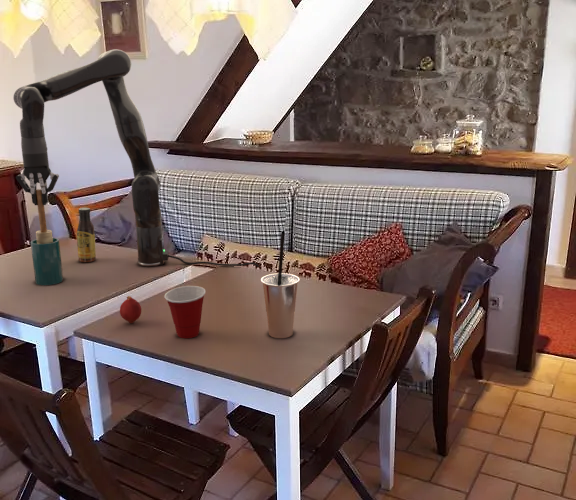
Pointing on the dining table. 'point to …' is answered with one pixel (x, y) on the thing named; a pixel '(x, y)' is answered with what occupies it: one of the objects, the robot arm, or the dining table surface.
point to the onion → (130, 310)
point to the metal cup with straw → (280, 299)
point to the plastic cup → (186, 309)
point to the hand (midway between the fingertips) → (40, 204)
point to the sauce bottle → (85, 237)
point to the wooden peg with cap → (42, 222)
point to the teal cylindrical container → (47, 262)
